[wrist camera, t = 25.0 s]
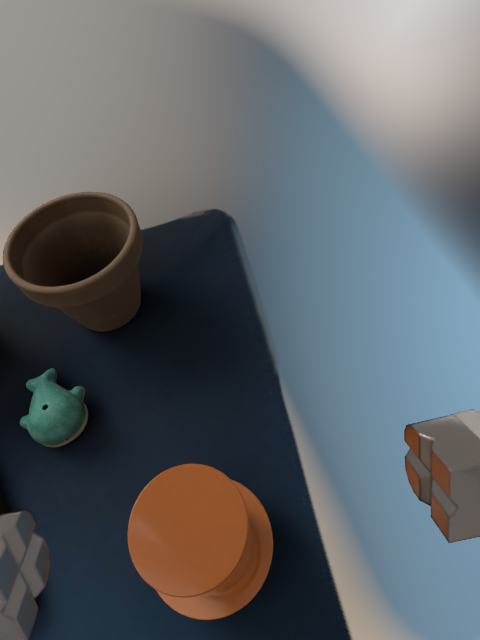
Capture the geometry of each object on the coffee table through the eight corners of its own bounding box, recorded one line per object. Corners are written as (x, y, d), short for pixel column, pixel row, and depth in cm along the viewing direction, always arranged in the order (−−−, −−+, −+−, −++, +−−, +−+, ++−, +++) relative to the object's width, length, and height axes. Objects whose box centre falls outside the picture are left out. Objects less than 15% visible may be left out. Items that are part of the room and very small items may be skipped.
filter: (299, 545, 31) (304, 523, 23) (211, 652, 28) (179, 673, 20) (216, 460, 35) (193, 414, 26) (130, 547, 32) (74, 527, 23)
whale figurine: (40, 464, 37) (17, 451, 33) (16, 396, 40) (-7, 378, 37) (104, 427, 38) (88, 411, 35) (76, 364, 42) (58, 344, 38)
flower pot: (67, 264, 49) (21, 192, 40) (169, 258, 48) (144, 184, 39) (42, 356, 42) (-19, 295, 34) (158, 351, 41) (125, 287, 33)
